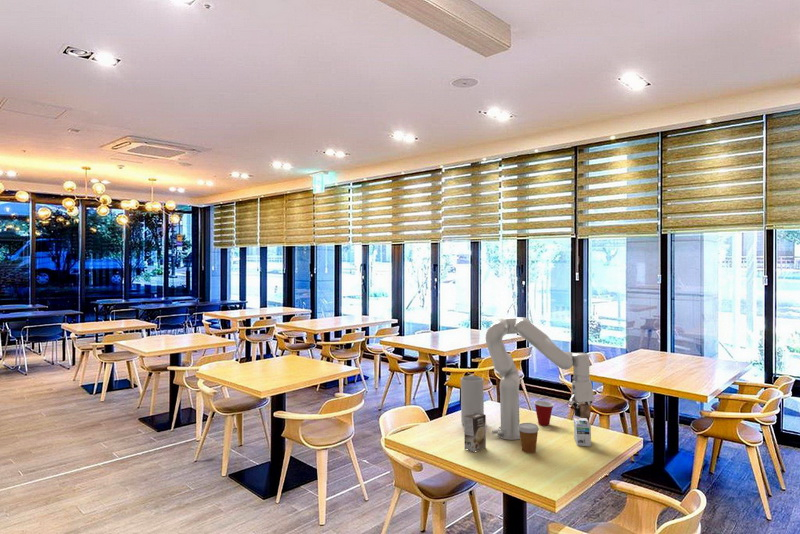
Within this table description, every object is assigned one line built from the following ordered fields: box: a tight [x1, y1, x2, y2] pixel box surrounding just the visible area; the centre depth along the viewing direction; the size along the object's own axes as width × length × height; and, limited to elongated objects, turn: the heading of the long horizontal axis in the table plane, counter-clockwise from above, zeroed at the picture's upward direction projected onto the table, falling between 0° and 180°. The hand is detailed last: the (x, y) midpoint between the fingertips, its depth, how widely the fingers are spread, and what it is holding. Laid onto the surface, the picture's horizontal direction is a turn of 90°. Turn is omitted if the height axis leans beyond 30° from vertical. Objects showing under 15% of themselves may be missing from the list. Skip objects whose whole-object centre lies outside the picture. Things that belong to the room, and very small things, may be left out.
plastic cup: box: [533, 400, 555, 427], centre depth 273 cm, size 11×11×12 cm
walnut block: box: [574, 402, 591, 419], centre depth 244 cm, size 5×5×6 cm
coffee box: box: [463, 413, 487, 453], centre depth 238 cm, size 9×6×16 cm
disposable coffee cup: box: [518, 422, 540, 454], centre depth 234 cm, size 10×10×12 cm
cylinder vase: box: [460, 375, 485, 425], centre depth 277 cm, size 12×12×25 cm
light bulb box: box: [573, 417, 592, 447], centre depth 244 cm, size 11×7×11 cm, turn 168°
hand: (582, 414), depth 244 cm, fingers closed on walnut block, 5 cm apart
